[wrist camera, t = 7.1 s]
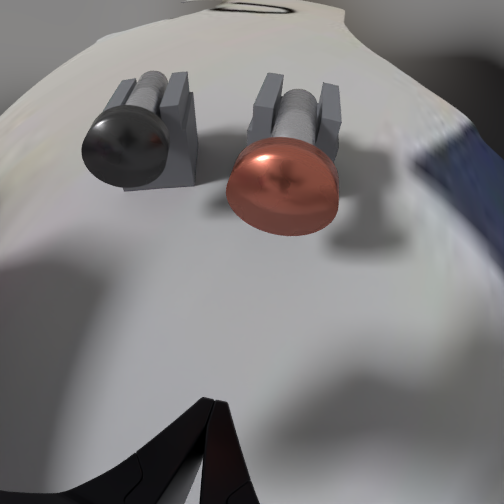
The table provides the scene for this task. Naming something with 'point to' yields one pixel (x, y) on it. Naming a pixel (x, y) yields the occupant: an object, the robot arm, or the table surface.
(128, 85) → the grey u-shaped block
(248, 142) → the bed
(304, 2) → the table surface
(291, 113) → the copper plunger
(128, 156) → the black plunger
